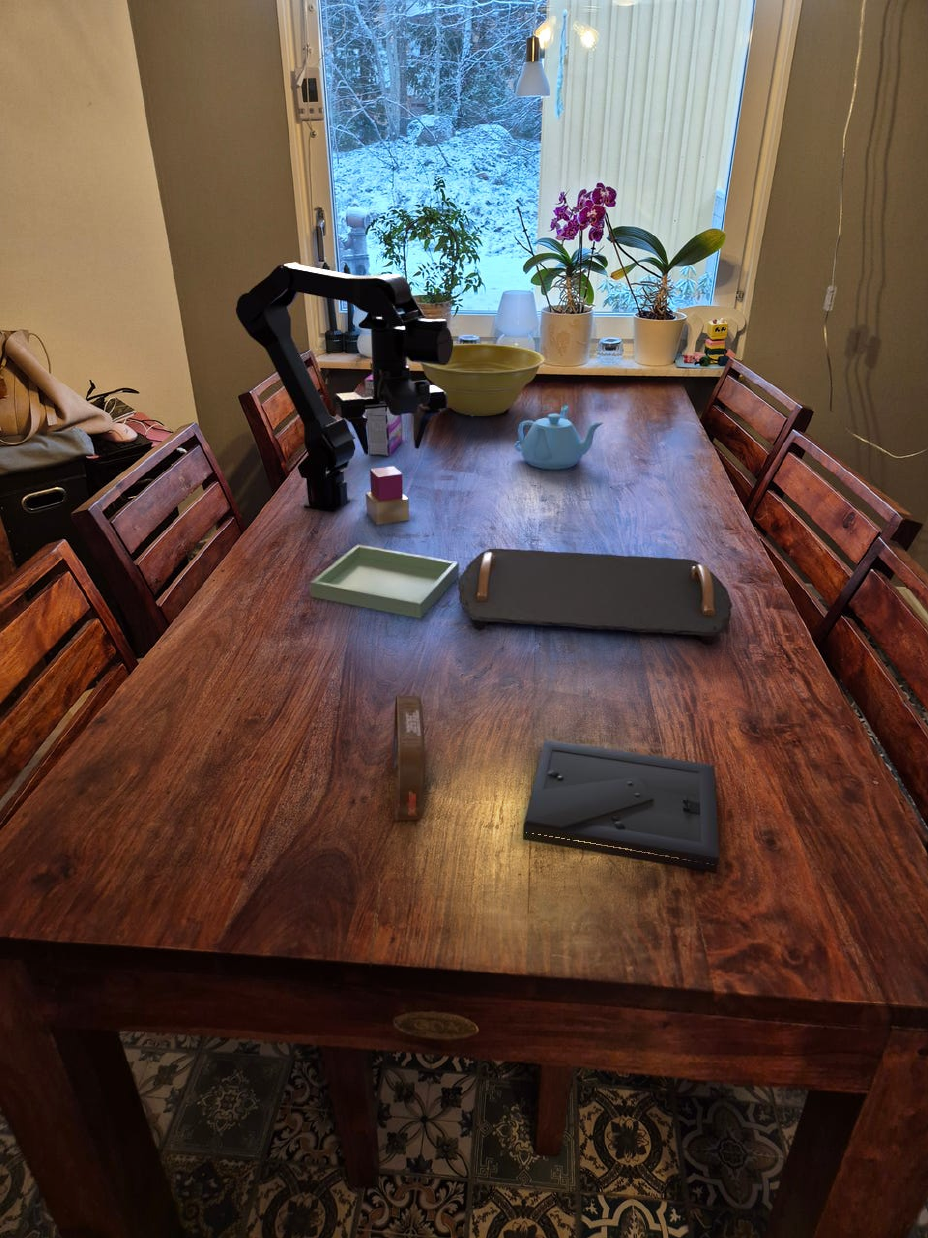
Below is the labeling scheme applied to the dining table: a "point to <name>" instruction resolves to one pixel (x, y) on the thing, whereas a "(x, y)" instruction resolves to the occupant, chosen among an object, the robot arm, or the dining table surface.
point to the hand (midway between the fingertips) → (391, 451)
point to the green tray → (386, 580)
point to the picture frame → (625, 805)
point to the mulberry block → (386, 483)
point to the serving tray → (595, 592)
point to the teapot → (553, 442)
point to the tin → (408, 758)
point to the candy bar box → (382, 427)
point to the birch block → (387, 509)
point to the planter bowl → (484, 377)
